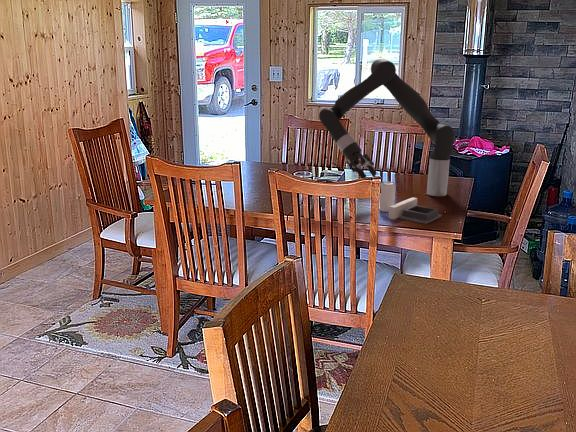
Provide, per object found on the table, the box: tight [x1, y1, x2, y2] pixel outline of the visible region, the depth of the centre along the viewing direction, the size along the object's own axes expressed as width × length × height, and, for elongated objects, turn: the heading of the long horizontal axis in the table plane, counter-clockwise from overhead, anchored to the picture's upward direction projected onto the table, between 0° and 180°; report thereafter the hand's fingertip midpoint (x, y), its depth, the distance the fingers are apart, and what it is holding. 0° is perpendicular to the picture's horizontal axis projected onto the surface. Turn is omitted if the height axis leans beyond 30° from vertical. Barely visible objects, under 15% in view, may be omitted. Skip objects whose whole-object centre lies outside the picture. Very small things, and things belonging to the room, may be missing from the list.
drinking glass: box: [310, 178, 335, 209], centre depth 244 cm, size 10×10×12 cm
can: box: [379, 181, 396, 213], centre depth 244 cm, size 6×6×12 cm
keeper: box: [398, 204, 442, 225], centre depth 235 cm, size 14×12×3 cm
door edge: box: [388, 197, 418, 220], centre depth 240 cm, size 20×2×5 cm, turn 141°
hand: (370, 176), depth 247 cm, fingers open, 8 cm apart
